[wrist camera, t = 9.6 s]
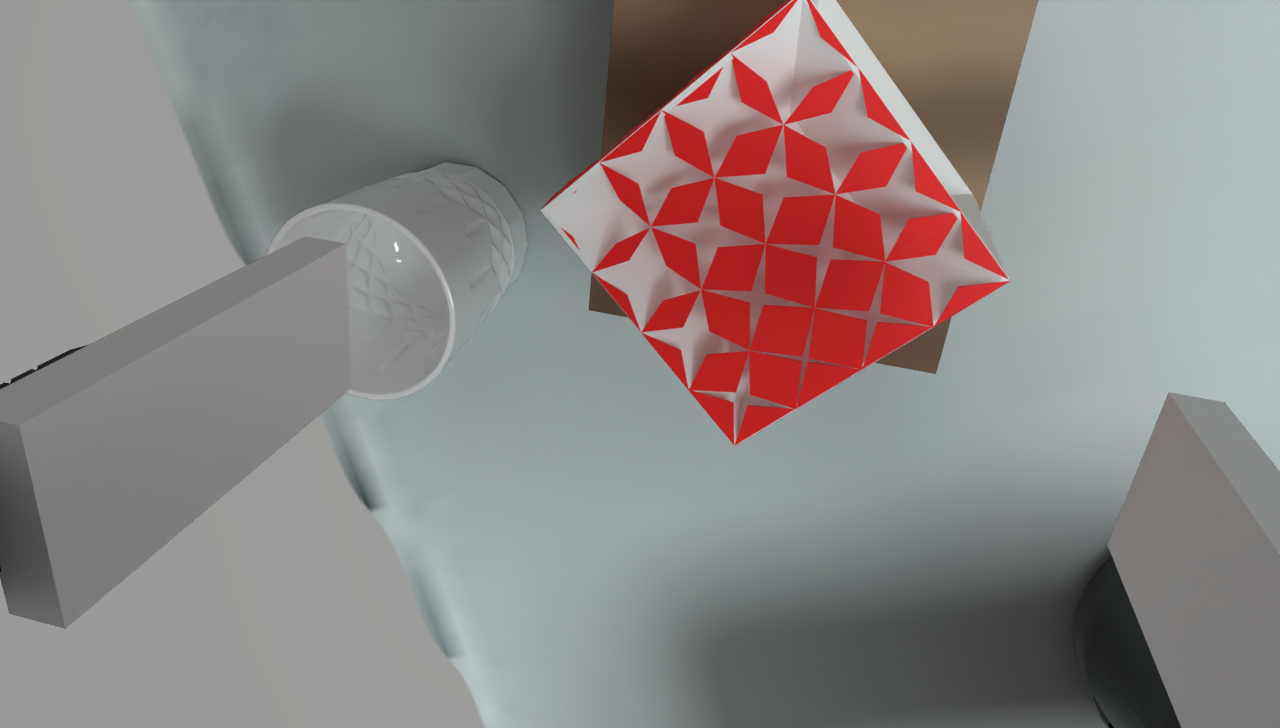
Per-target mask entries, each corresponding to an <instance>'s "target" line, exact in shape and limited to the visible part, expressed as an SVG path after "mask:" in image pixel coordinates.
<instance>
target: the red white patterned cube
mask: <svg viewBox="0 0 1280 728" xmlns="http://www.w3.org/2000/svg"><path fill="white" fill-rule="evenodd" d="M747 36H748V37H747ZM746 37H747V38H746ZM745 38H746V39H745ZM718 58H719V59H718V60H717V61H715V62H714V63H713V64H711V65H710V66H709V67H707V68H706V69H705V70H703V71H702V72H700V73H699V74H697V75H696V76H695V77H694V78H693V79H692V80H691V81H690V82H689V83H688V84H687V85H686V86H685V87H684V88H682V89H681V90H680V91H679V92H678V93H677V94H676V95H675V96H674V97H673V98H672V99H671V100H669V101H668V102H666V104H665V105H663V106H662V107H660V108H659V109H657V110H656V111H655V113H653V114H652V115H650V116H649V117H648V118H647V119H646V120H644V121H643V122H642V123H640V124H639V125H638V126H636V127H635V128H633V129H632V130H631V131H630V132H629V133H628V134H627V135H626V136H625V137H623V138H622V139H621V140H620V141H619V142H618V143H617V144H616V145H615V146H614V147H613V148H612V149H611V150H610V151H608V152H607V153H605V154H604V155H602V156H601V158H600V159H599V160H597V161H596V162H594V163H593V164H592V165H591V166H589V167H588V168H587V169H586V170H585V171H583V172H582V173H581V174H579V175H578V176H576V177H575V178H573V179H572V180H570V181H569V182H568V183H567V184H566V185H565V186H564V187H563V188H562V189H561V190H560V191H559V192H557V193H556V194H555V195H554V196H553V197H552V198H551V199H550V200H549V201H548V202H547V203H546V204H545V205H544V206H546V205H547V204H548V203H549V202H550V203H549V204H548V205H547V206H546V207H544V208H543V209H542V210H541V212H542V213H543V214H544V215H545V217H546V218H547V219H548V220H549V221H550V223H551V224H552V225H553V226H554V227H555V229H556V230H557V231H558V232H559V234H560V235H561V236H562V237H563V238H564V240H565V241H566V242H567V243H568V244H569V246H570V247H571V248H572V249H573V251H574V252H575V253H576V254H577V255H578V257H579V258H580V259H581V260H582V261H583V263H584V264H585V265H586V266H587V267H588V269H589V270H590V271H591V272H592V274H593V275H594V276H595V277H596V278H597V280H598V281H599V282H600V283H601V284H602V286H603V287H604V288H605V289H606V291H607V292H608V293H609V294H610V295H611V297H612V298H613V299H614V300H615V301H616V303H617V304H618V305H619V306H620V307H621V309H622V310H623V311H624V312H625V314H626V315H627V316H628V317H629V318H630V320H631V321H632V322H633V323H634V324H635V326H636V327H637V328H638V329H639V331H640V332H641V333H642V334H643V335H644V337H645V338H646V339H647V340H648V341H649V343H650V344H651V345H652V346H653V347H654V349H655V350H656V351H657V352H658V354H659V355H660V356H661V357H662V358H663V360H664V361H665V362H666V363H667V364H668V366H669V367H670V368H671V369H672V371H673V372H674V373H675V374H676V375H677V377H678V378H679V379H680V380H681V381H682V383H683V384H684V385H685V386H686V387H687V389H688V390H689V391H690V392H691V394H692V395H693V396H694V397H695V398H696V400H697V401H698V402H699V403H700V405H701V406H702V407H703V408H704V409H705V411H706V412H707V413H708V414H709V415H710V417H711V418H712V419H713V420H714V421H715V423H716V424H717V425H718V426H719V428H720V429H721V430H722V431H723V432H724V434H725V435H726V436H727V437H728V438H729V440H730V441H731V442H732V443H733V445H734V446H736V445H738V444H740V443H742V442H743V441H745V440H747V439H748V438H750V437H752V436H753V435H755V434H757V433H758V432H760V431H762V430H763V429H765V428H767V427H768V426H770V425H772V424H773V423H775V422H777V421H778V420H780V419H782V418H783V417H785V416H787V415H788V414H790V413H792V412H793V411H795V410H797V409H798V408H800V407H801V406H803V405H805V404H806V403H808V402H810V401H811V400H813V399H815V398H816V397H818V396H820V395H821V394H823V393H825V392H826V391H828V390H830V389H831V388H833V387H835V386H836V385H838V384H840V383H841V382H843V381H845V380H846V379H848V378H850V377H851V376H853V375H855V374H856V373H858V372H860V371H861V370H863V369H865V368H866V367H868V366H870V365H871V364H873V363H875V362H876V361H878V360H880V359H881V358H883V357H885V356H886V355H888V354H890V353H891V352H893V351H895V350H896V349H898V348H900V347H901V346H903V345H905V344H906V343H908V342H910V341H911V340H913V339H915V338H916V337H918V336H920V335H921V334H923V333H925V332H926V331H928V330H930V329H931V328H933V327H935V326H936V325H938V324H940V323H941V322H943V321H945V320H946V319H948V318H950V317H951V316H953V315H955V314H956V313H958V312H960V311H961V310H963V309H965V308H966V307H968V306H970V305H971V304H973V303H975V302H976V301H978V300H980V299H981V298H983V297H985V296H986V295H988V294H990V293H991V292H993V291H995V290H996V289H998V288H1000V287H1001V286H1003V285H1005V284H1006V283H1008V282H1010V278H1009V276H1008V274H1007V271H1006V269H1005V267H1004V264H1003V262H1002V260H1001V257H1000V255H999V253H998V251H997V248H996V246H995V244H994V241H993V239H992V237H991V234H990V232H989V230H988V227H987V225H986V223H985V221H984V218H983V216H982V214H981V211H980V209H979V207H978V204H977V202H976V200H975V197H974V195H973V194H972V193H971V191H970V190H969V188H968V187H967V185H966V184H965V183H964V181H963V180H962V178H961V177H960V176H959V174H958V173H957V171H956V170H955V168H954V167H953V166H952V164H951V163H950V161H949V160H948V159H947V157H946V156H945V154H944V153H943V151H942V150H941V149H940V147H939V146H938V144H937V143H936V141H935V140H934V139H933V137H932V136H931V134H930V133H929V132H928V130H927V129H926V127H925V126H924V124H923V123H922V122H921V120H920V119H919V117H918V116H917V115H916V113H915V112H914V110H913V109H912V107H911V106H910V105H909V103H908V102H907V100H906V99H905V98H904V96H903V95H902V93H901V92H900V90H899V89H898V88H897V86H896V85H895V83H894V82H893V81H892V79H891V78H890V76H889V75H888V73H887V72H886V71H885V69H884V68H883V66H882V65H881V64H880V62H879V61H878V59H877V58H876V56H875V55H874V54H873V52H872V51H871V49H870V48H869V47H868V45H867V44H866V42H865V41H864V39H863V38H862V37H861V35H860V34H859V32H858V31H857V30H856V28H855V27H854V25H853V24H852V22H851V21H850V20H849V18H848V17H847V15H846V14H845V12H844V11H843V10H842V8H841V7H840V5H839V4H838V3H837V1H836V0H788V1H787V2H785V3H784V4H782V5H781V6H780V7H778V8H777V9H775V10H774V11H773V12H771V13H770V14H768V15H767V16H766V17H764V18H763V19H762V20H761V21H760V22H759V23H758V24H757V25H756V26H755V27H754V28H753V29H752V30H751V31H750V32H749V33H748V34H747V35H746V36H745V37H744V38H741V40H740V41H739V42H738V43H737V44H736V45H735V46H734V47H733V48H732V49H730V50H729V51H728V52H726V53H725V54H723V55H722V56H720V57H718ZM564 190H565V191H564ZM559 194H560V195H559ZM558 195H559V196H558ZM554 198H555V199H554ZM553 199H554V200H553ZM552 200H553V201H552ZM551 201H552V202H551Z"/></svg>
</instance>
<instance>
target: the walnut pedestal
mask: <svg viewBox="0 0 1280 728" xmlns="http://www.w3.org/2000/svg"><path fill="white" fill-rule="evenodd" d="M787 1H788V0H614V8H613V20H612V32H611V44H610V57H609V69H608V81H607V93H606V105H605V118H604V130H603V142H602V154H601V156H602V155H604V154H605V153H607V152H608V151H610V150H611V149H612V148H613V147H614V146H615V145H616V144H617V143H618V142H619V141H620V140H621V139H622V138H623V137H625V136H626V135H627V134H628V133H629V132H630V131H631V130H632V129H633V128H635V127H636V126H638V125H639V124H640V123H642V122H643V121H644V120H646V119H647V118H648V117H649V116H650V115H652V114H653V113H655V111H656V110H657V109H659V108H660V107H662V106H663V105H665V104H666V102H668V101H669V100H671V99H672V98H673V97H674V96H675V95H676V94H677V93H678V92H679V91H680V90H681V89H682V88H684V87H685V86H686V85H687V84H688V83H689V82H690V81H691V80H692V79H693V78H694V77H695V76H696V75H697V74H699V73H700V72H702V71H703V70H705V69H706V68H707V67H709V66H710V65H711V64H713V63H714V62H715V61H717V60H718V59H719V58H718V57H720V56H722V55H723V54H725V53H726V52H728V51H729V50H730V49H732V48H733V47H734V46H735V45H736V44H737V43H738V42H739V41H740V40H741V38H744V37H745V36H746V35H747V34H748V33H749V32H750V31H751V30H752V29H753V28H754V27H755V26H756V25H757V24H758V23H759V22H760V21H761V20H762V19H763V18H764V17H766V16H767V15H768V14H770V13H771V12H773V11H774V10H775V9H777V8H778V7H780V6H781V5H782V4H784V3H785V2H787ZM836 1H837V3H838V4H839V5H840V7H841V8H842V10H843V11H844V12H845V14H846V15H847V17H848V18H849V20H850V21H851V22H852V24H853V25H854V27H855V28H856V30H857V31H858V32H859V34H860V35H861V37H862V38H863V39H864V41H865V42H866V44H867V45H868V47H869V48H870V49H871V51H872V52H873V54H874V55H875V56H876V58H877V59H878V61H879V62H880V64H881V65H882V66H883V68H884V69H885V71H886V72H887V73H888V75H889V76H890V78H891V79H892V81H893V82H894V83H895V85H896V86H897V88H898V89H899V90H900V92H901V93H902V95H903V96H904V98H905V99H906V100H907V102H908V103H909V105H910V106H911V107H912V109H913V110H914V112H915V113H916V115H917V116H918V117H919V119H920V120H921V122H922V123H923V124H924V126H925V127H926V129H927V130H928V132H929V133H930V134H931V136H932V137H933V139H934V140H935V141H936V143H937V144H938V146H939V147H940V149H941V150H942V151H943V153H944V154H945V156H946V157H947V159H948V160H949V161H950V163H951V164H952V166H953V167H954V168H955V170H956V171H957V173H958V174H959V176H960V177H961V178H962V180H963V181H964V183H965V184H966V185H967V187H968V188H969V190H970V191H971V193H972V194H973V195H974V197H975V200H976V202H977V204H978V207H979V209H980V211H981V207H982V204H983V200H984V196H985V193H986V189H987V185H988V182H989V178H990V175H991V171H992V167H993V164H994V160H995V156H996V153H997V149H998V145H999V142H1000V138H1001V134H1002V131H1003V127H1004V124H1005V120H1006V116H1007V113H1008V109H1009V105H1010V102H1011V98H1012V94H1013V91H1014V87H1015V83H1016V80H1017V76H1018V72H1019V69H1020V65H1021V62H1022V58H1023V54H1024V51H1025V47H1026V43H1027V40H1028V36H1029V32H1030V29H1031V25H1032V21H1033V18H1034V14H1035V10H1036V7H1037V3H1038V0H836ZM747 37H748V36H747ZM747 37H746V38H747ZM746 38H745V39H746ZM589 310H591V311H596V312H602V313H607V314H613V315H618V316H624V317H628V316H627V315H626V314H625V312H624V311H623V310H622V309H621V307H620V306H619V305H618V304H617V303H616V301H615V300H614V299H613V298H612V297H611V295H610V294H609V293H608V292H607V291H606V289H605V288H604V287H603V286H602V284H601V283H600V282H599V281H598V280H597V278H596V277H595V276H594V275H593V274H592V276H591V289H590V301H589ZM951 317H952V316H951ZM951 317H950V318H948V319H946V320H945V321H943V322H941V323H940V324H938V325H936V326H935V327H933V328H931V329H930V330H928V331H926V332H925V333H923V334H921V335H920V336H918V337H916V338H915V339H913V340H911V341H910V342H908V343H906V344H905V345H903V346H901V347H900V348H898V349H896V350H895V351H893V352H891V353H890V354H888V355H886V356H885V357H883V358H881V359H880V360H878V361H876V362H875V363H880V364H885V365H890V366H896V367H901V368H907V369H912V370H918V371H923V372H929V373H934V374H936V371H937V368H938V364H939V360H940V357H941V353H942V350H943V346H944V342H945V339H946V335H947V331H948V328H949V324H950V320H951Z"/></svg>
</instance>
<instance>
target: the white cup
mask: <svg viewBox="0 0 1280 728" xmlns="http://www.w3.org/2000/svg"><path fill="white" fill-rule="evenodd" d="M304 236H306V237H311V238H317V239H322V240H328V241H333V242H339V243H345V244H346V262H347V286H348V309H349V333H350V357H351V381H352V388H351V389H349V390H348V391H347V392H346V393H347V394H350V395H353V396H356V397H361V398H366V399H375V400H386V399H395V398H400V397H404V396H407V395H410V394H412V393H414V392H416V391H418V390H420V389H422V388H423V387H425V386H426V385H428V384H429V383H430V382H431V381H432V380H433V379H434V378H435V377H436V376H437V375H438V374H439V373H440V372H441V371H442V369H443V368H444V367H445V366H446V365H447V364H448V362H449V361H450V360H451V359H452V358H453V357H454V355H455V354H456V353H457V352H458V351H459V350H460V349H461V348H462V346H463V345H464V344H465V343H466V342H467V341H468V340H469V338H470V337H471V336H472V335H473V334H474V333H475V332H476V331H477V329H478V328H479V327H480V325H481V324H482V323H483V321H484V320H485V319H486V318H487V316H488V315H489V314H490V313H491V312H492V310H493V309H494V308H495V306H496V305H497V304H498V302H499V301H500V299H501V297H502V295H503V294H504V292H505V291H506V289H507V288H508V287H509V286H510V285H511V284H512V283H513V282H514V281H515V280H516V278H517V277H518V276H519V275H520V273H521V269H522V266H523V262H524V259H525V256H526V252H527V249H528V240H527V235H526V229H525V223H524V217H523V213H522V212H521V210H520V209H519V207H518V206H517V204H516V202H515V201H514V199H513V198H512V196H511V195H510V193H509V192H508V190H507V189H506V187H505V186H504V185H503V184H501V183H500V182H498V181H497V180H495V179H494V178H492V177H491V176H489V175H488V174H486V173H485V172H483V171H482V170H480V169H479V168H477V167H472V166H466V165H460V164H454V163H448V162H445V163H442V164H439V165H436V166H433V167H430V168H427V169H424V170H422V171H419V172H416V173H405V174H402V175H399V176H397V177H393V178H389V179H386V180H384V181H381V182H378V183H375V184H371V185H368V186H366V187H363V188H361V189H358V190H356V191H353V192H351V193H348V194H346V195H343V196H340V197H338V198H335V199H332V200H329V201H327V202H324V203H321V204H319V205H316V206H313V207H311V208H308V209H306V210H304V211H302V212H300V213H298V214H296V215H295V216H293V217H292V218H291V219H289V220H288V221H287V222H286V223H285V224H284V225H283V226H282V227H281V228H280V230H279V231H278V232H277V234H276V235H275V237H274V238H273V240H272V242H271V244H270V246H269V249H268V251H267V254H266V255H268V254H270V253H272V252H274V251H276V250H278V249H280V248H282V247H284V246H286V245H288V244H290V243H292V242H294V241H296V240H298V239H300V238H302V237H304Z"/></svg>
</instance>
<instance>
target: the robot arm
mask: <svg viewBox="0 0 1280 728" xmlns="http://www.w3.org/2000/svg"><path fill="white" fill-rule="evenodd" d="M351 388H352V381H351V357H350V333H349V309H348V286H347V262H346V244H345V243H339V242H333V241H328V240H322V239H317V238H311V237H306V236H304V237H302V238H300V239H298V240H296V241H294V242H292V243H290V244H288V245H286V246H284V247H282V248H280V249H278V250H276V251H274V252H272V253H270V254H268V255H266V256H264V257H262V258H261V259H259V260H257V261H255V262H253V263H251V264H249V265H247V266H245V267H243V268H241V269H239V270H237V271H235V272H233V273H231V274H229V275H227V276H225V277H223V278H221V279H219V280H217V281H215V282H213V283H211V284H209V285H207V286H205V287H203V288H201V289H199V290H197V291H195V292H193V293H191V294H189V295H187V296H185V297H183V298H181V299H179V300H177V301H175V302H173V303H171V304H169V305H167V306H165V307H163V308H161V309H159V310H157V311H155V312H153V313H151V314H149V315H147V316H145V317H143V318H141V319H139V320H137V321H135V322H133V323H131V324H129V325H127V326H125V327H123V328H121V329H119V330H117V331H115V332H114V333H112V334H110V335H107V336H106V337H103V338H102V339H99V340H98V341H96V342H94V343H92V344H90V345H86V346H82V347H79V348H75V349H72V350H69V351H67V352H65V353H63V354H61V355H59V356H57V357H55V358H53V359H51V360H49V361H47V362H45V363H43V364H41V365H39V366H38V368H37V370H33V369H31V370H29V371H27V372H25V373H23V374H21V375H19V376H17V377H15V378H13V379H11V383H10V384H9V383H3V384H1V385H0V579H1V583H2V587H3V590H4V594H5V598H6V602H7V606H8V610H9V613H10V614H13V615H16V616H20V617H24V618H28V619H32V620H35V621H39V622H42V623H47V624H50V625H54V626H58V627H61V628H65V629H66V628H67V627H68V626H69V625H70V624H72V623H73V622H74V621H75V620H76V619H78V618H79V617H80V616H81V615H82V614H83V613H85V612H86V611H87V610H88V609H89V608H91V607H92V606H93V605H94V604H95V603H97V602H98V601H99V600H100V599H101V598H102V597H103V596H104V595H106V594H107V593H108V592H110V591H111V590H112V589H113V588H114V587H116V586H117V585H118V584H119V583H120V582H121V581H123V580H124V579H125V578H126V577H127V576H128V575H130V574H131V573H132V572H133V571H134V570H136V569H137V568H138V567H139V566H140V565H142V563H144V562H145V561H146V560H148V559H149V558H150V557H151V556H152V555H154V554H155V553H156V552H157V551H158V550H159V549H161V548H162V547H163V546H164V545H165V544H167V543H168V542H169V541H170V540H171V539H173V538H174V537H175V536H176V535H177V534H178V533H179V532H181V531H182V530H183V529H184V528H186V527H187V526H188V525H189V524H190V523H192V522H193V521H194V520H195V519H196V518H197V517H199V516H200V515H201V514H202V513H203V512H205V511H206V510H207V509H208V508H209V507H211V506H212V505H213V504H214V503H215V502H216V501H217V500H219V499H220V498H221V497H222V496H223V495H225V494H226V493H227V492H228V491H229V490H231V489H232V488H233V487H234V486H235V485H237V484H238V483H239V482H240V481H241V480H243V479H244V478H245V477H246V476H247V475H249V474H250V473H251V472H252V471H253V470H254V469H255V468H257V467H258V466H259V465H260V464H261V463H263V462H264V461H265V460H266V459H268V458H269V457H270V456H271V455H272V454H273V453H275V451H277V450H278V449H279V448H281V447H282V446H283V445H284V444H285V443H287V442H288V441H289V440H290V439H291V438H292V437H293V436H295V435H296V434H297V433H298V432H299V431H301V430H302V429H303V428H304V427H306V426H307V425H308V424H309V423H310V422H311V421H313V420H314V419H315V418H316V417H317V416H319V415H320V414H321V413H322V412H323V411H325V410H326V409H327V408H328V407H329V406H330V405H332V404H333V403H334V402H335V401H336V400H338V399H339V398H340V397H341V396H342V395H344V394H345V393H346V392H347V391H348V390H349V389H351ZM1107 545H1108V548H1109V550H1110V553H1111V555H1112V556H1111V557H1110V559H1109V560H1108V561H1107V562H1106V563H1105V564H1104V565H1103V566H1102V567H1101V568H1100V570H1099V571H1098V572H1097V573H1096V575H1095V576H1094V578H1093V579H1092V581H1091V582H1090V584H1089V586H1088V587H1087V589H1086V591H1085V593H1084V595H1083V597H1082V600H1081V602H1080V605H1079V608H1078V612H1077V616H1076V621H1075V631H1074V640H1075V649H1076V655H1077V659H1078V662H1079V666H1080V669H1081V673H1082V676H1083V679H1084V683H1085V686H1086V689H1087V692H1088V695H1089V697H1090V700H1091V702H1092V704H1093V706H1094V707H1095V709H1096V711H1097V713H1098V715H1099V716H1100V718H1101V720H1102V721H1103V722H1104V724H1105V725H1106V726H1107V728H1280V471H1279V470H1278V469H1277V468H1276V466H1275V465H1274V464H1273V463H1272V461H1271V460H1270V459H1269V457H1268V456H1267V455H1266V454H1265V452H1264V451H1263V450H1262V449H1261V447H1260V446H1259V445H1258V444H1257V442H1256V441H1255V440H1254V439H1253V437H1252V436H1251V435H1250V434H1249V432H1248V431H1247V430H1246V429H1245V427H1244V426H1243V425H1242V423H1241V422H1240V421H1239V420H1238V418H1237V417H1236V416H1235V415H1234V413H1233V412H1232V411H1231V410H1230V408H1229V407H1228V406H1227V405H1226V403H1225V402H1220V401H1214V400H1208V399H1203V398H1197V397H1192V396H1186V395H1181V394H1175V393H1170V392H1169V393H1168V395H1167V398H1166V400H1165V403H1164V405H1163V408H1162V410H1161V413H1160V415H1159V417H1158V420H1157V422H1156V425H1155V427H1154V430H1153V432H1152V435H1151V437H1150V440H1149V442H1148V445H1147V447H1146V450H1145V452H1144V455H1143V457H1142V460H1141V462H1140V465H1139V467H1138V470H1137V472H1136V475H1135V477H1134V480H1133V482H1132V485H1131V487H1130V490H1129V492H1128V494H1127V497H1126V499H1125V502H1124V504H1123V507H1122V509H1121V512H1120V514H1119V517H1118V519H1117V522H1116V524H1115V527H1114V529H1113V532H1112V534H1111V537H1110V539H1109V542H1108V544H1107Z"/></svg>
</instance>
